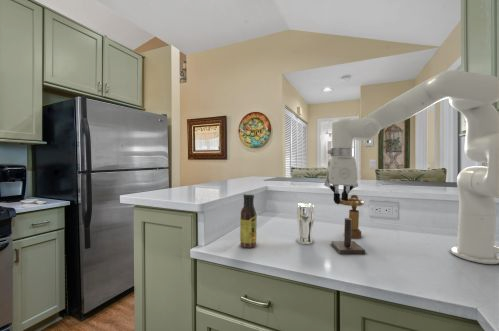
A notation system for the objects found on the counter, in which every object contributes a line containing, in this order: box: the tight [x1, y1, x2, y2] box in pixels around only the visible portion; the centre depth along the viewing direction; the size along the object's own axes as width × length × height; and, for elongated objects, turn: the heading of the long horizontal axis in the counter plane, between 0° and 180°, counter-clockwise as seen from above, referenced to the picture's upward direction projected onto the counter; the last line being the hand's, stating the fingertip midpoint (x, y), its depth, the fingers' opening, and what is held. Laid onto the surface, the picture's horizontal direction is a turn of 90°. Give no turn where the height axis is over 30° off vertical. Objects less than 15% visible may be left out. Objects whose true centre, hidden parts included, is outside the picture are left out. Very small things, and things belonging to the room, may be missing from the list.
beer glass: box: [296, 203, 315, 245], centre depth 99 cm, size 7×7×15 cm
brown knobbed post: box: [348, 194, 362, 239], centre depth 107 cm, size 7×6×18 cm
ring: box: [339, 197, 365, 207], centre depth 90 cm, size 9×9×2 cm
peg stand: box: [330, 217, 366, 255], centre depth 92 cm, size 9×9×12 cm
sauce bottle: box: [239, 193, 258, 249], centre depth 94 cm, size 6×6×20 cm
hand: (340, 203), depth 90 cm, fingers closed on ring, 2 cm apart
